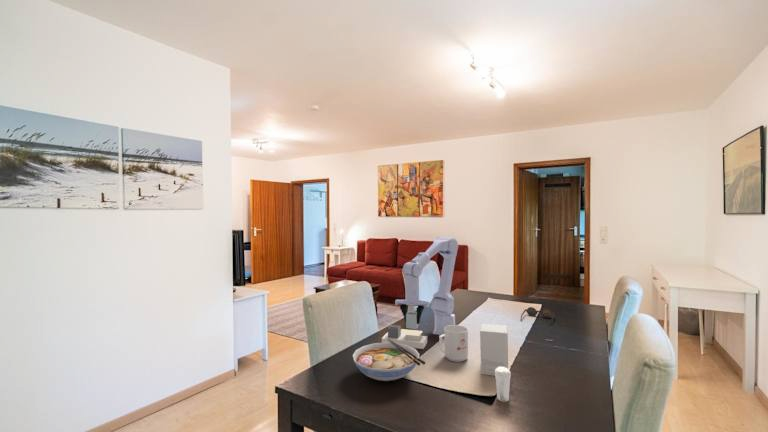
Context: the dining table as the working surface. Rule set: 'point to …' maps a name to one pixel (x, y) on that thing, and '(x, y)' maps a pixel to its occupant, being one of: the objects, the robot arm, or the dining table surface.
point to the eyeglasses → (544, 313)
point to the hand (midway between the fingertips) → (412, 322)
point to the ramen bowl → (386, 360)
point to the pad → (411, 332)
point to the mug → (455, 343)
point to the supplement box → (493, 348)
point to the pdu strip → (404, 338)
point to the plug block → (411, 320)
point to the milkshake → (502, 383)
